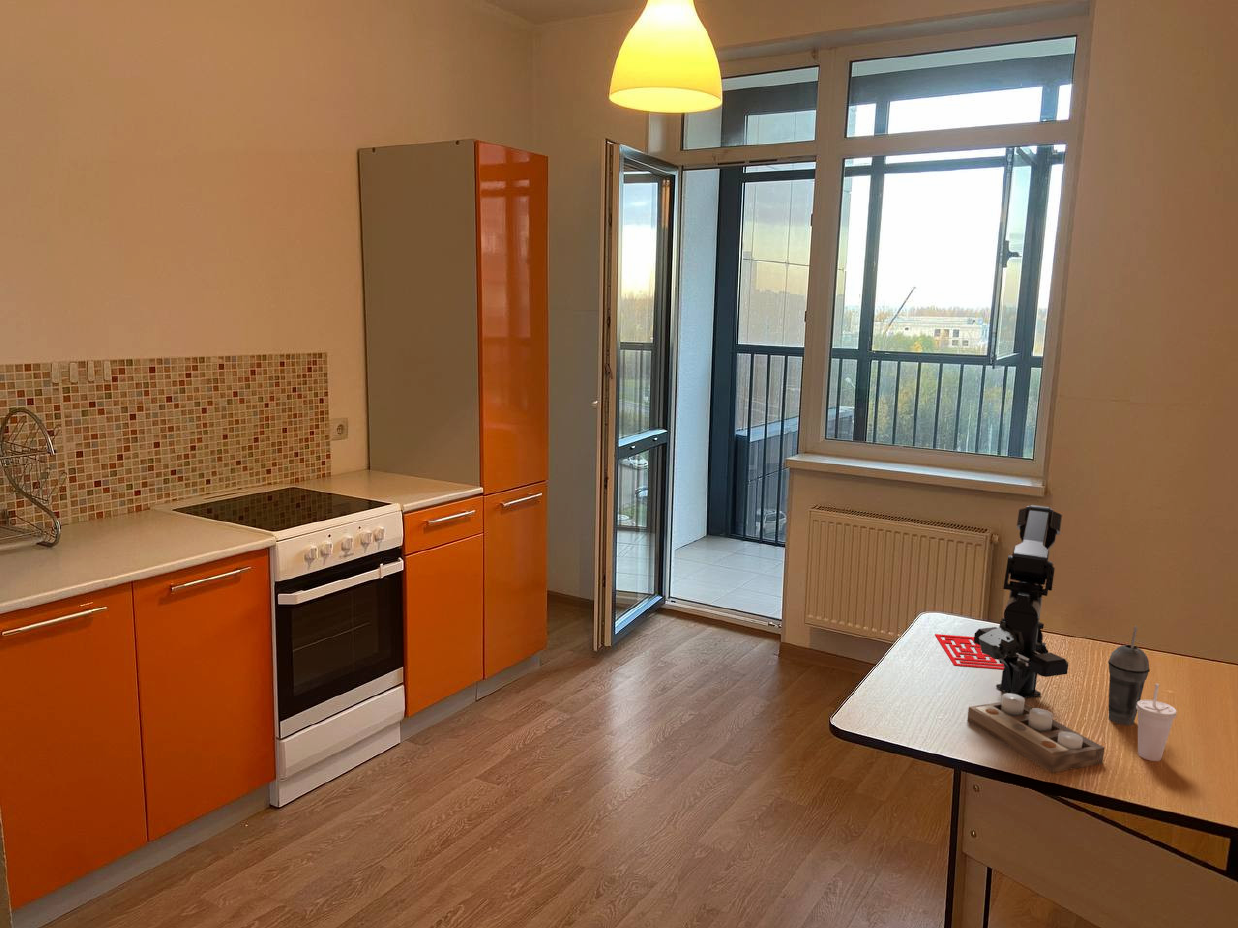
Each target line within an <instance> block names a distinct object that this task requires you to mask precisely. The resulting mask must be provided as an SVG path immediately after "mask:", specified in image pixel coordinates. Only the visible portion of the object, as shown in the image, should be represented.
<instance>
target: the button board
mask: <svg viewBox="0 0 1238 928" xmlns="http://www.w3.org/2000/svg"><path fill="white" fill-rule="evenodd" d="M1001 705H1002V701H998V702H993V703H986V704H979V705H973V706H972V705H971V706H969V707H968V712H967V719H966V721H967V722H968V723H969V724H971V725H973V726H975V727H976V728H978V729H980V731H983V732H984V733H986V734H988V735H989V736H991V737H992V738H994V739H996V740H997V741H999V742H1001V743H1002V744H1003V745H1006V746H1007V747H1009V748H1011V749H1012V750H1014V751H1015V752H1016V753H1018V754H1020V755H1022V756H1024V757H1025V758H1027V759H1028V760H1030V761H1031V762H1033V763H1035V764H1036V765H1038V766H1039V767H1041V768H1042V769H1045V770H1046V771H1048V772H1050V773H1053V774H1054V773H1058V772H1063V771H1068V770H1073V769H1078V768H1079V769H1080V768H1085V767H1089V766H1094V765H1099V764H1100V765H1101V764H1103V763H1104V754H1105V747H1104V746H1103V745H1101V744H1098V743H1097V742H1096V741H1093V740H1091V739H1090V738H1087V737H1086V736H1084V735H1083V734H1080V733H1078V732H1077V731H1075V730H1073V729H1071V728H1070V727H1067V726H1066V725H1064V724H1062V723H1060V722H1059V721H1057V720H1055V719H1053V721H1052V729H1051V731H1048V732H1038V731H1036V730H1034V729H1032V728H1031V727H1029V726H1028V722H1029V714H1030V709H1033V708H1034V707H1031V706H1029V705H1028V704H1025V703H1024V710H1023V715H1020V716H1010V715H1008V714H1006V713H1004V712H1003V711H1001ZM1063 731H1066V732H1072V733H1075V734H1078V735H1080V736H1081V737H1082V738H1083V742H1082V748H1081V749H1076V750H1069V749H1067V748H1065V747H1064V746H1062V745H1060V744H1058V743H1057V741H1058V734H1059V732H1063Z"/></svg>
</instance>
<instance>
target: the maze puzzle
mask: <svg viewBox="0 0 1238 928" xmlns="http://www.w3.org/2000/svg"><path fill="white" fill-rule="evenodd" d="M934 636H935V638H936V639H937V641H938V642H939V644H940V646H941V647H942V649H943V650H944V652H945V654H946V656H947V657H948V659H949V660H950V662H951V663H952V665H953V666H954V667H963V668H965V667H967V668H976V669H978V668H979V669H989V670H990V669H991V670H1002V671H1003V670H1004V665H1003V663H1002V664H1001V663H998V662H997V659H993V658H992V657H991V656H989V655H987V654H983V653H982V651H981V646H980V645H978V644H976V643H974V636H968V635H967V636H966V635H965V636H963V635H953V634H952V635H950V634H938V633H935V634H934ZM943 638H944V639H943ZM970 640H971V641H972V642H973V643H974V644H972V642H971V641H970ZM952 641H953V642H954V644H953V642H952ZM962 644H963V645H964V647H963V646H962ZM947 645H948V646H949V647H950V649H951V651H952V652H953V654H954V655H953V654H952V653H951V651H950V649H949V648H948V646H947ZM957 648H958V649H959V651H958V650H957ZM973 648H974V650H975V652H974V650H973ZM962 655H963V657H962ZM974 656H975V657H976V658H975V657H974ZM986 657H987V658H988V659H987V658H986ZM957 661H959V663H958V662H957ZM998 661H999V662H1000V660H999V659H998Z"/></svg>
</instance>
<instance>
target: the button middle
mask: <svg viewBox="0 0 1238 928" xmlns="http://www.w3.org/2000/svg"><path fill="white" fill-rule="evenodd" d="M1032 708H1033V709H1030V714H1029V722H1028V726H1029V727H1031V728H1032V729H1034V730H1036V731H1038V732H1048V731H1051V729H1052V721H1053V720H1054V714H1053V713H1052V712H1051V711H1049V710H1047V709H1044V708H1039V707H1035V708H1034V707H1032Z"/></svg>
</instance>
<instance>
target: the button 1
mask: <svg viewBox="0 0 1238 928" xmlns="http://www.w3.org/2000/svg"><path fill="white" fill-rule="evenodd" d="M1001 697H1002V698H1001V702H1002V705H1001V711H1003V712H1004V713H1006V714H1008V715H1010V716H1020V715H1023V710H1024V704H1025V701H1026V698H1023V697H1022V696H1019V695H1016V694H1011V693H1006V692H1005V693H1003V694H1002V696H1001Z"/></svg>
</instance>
